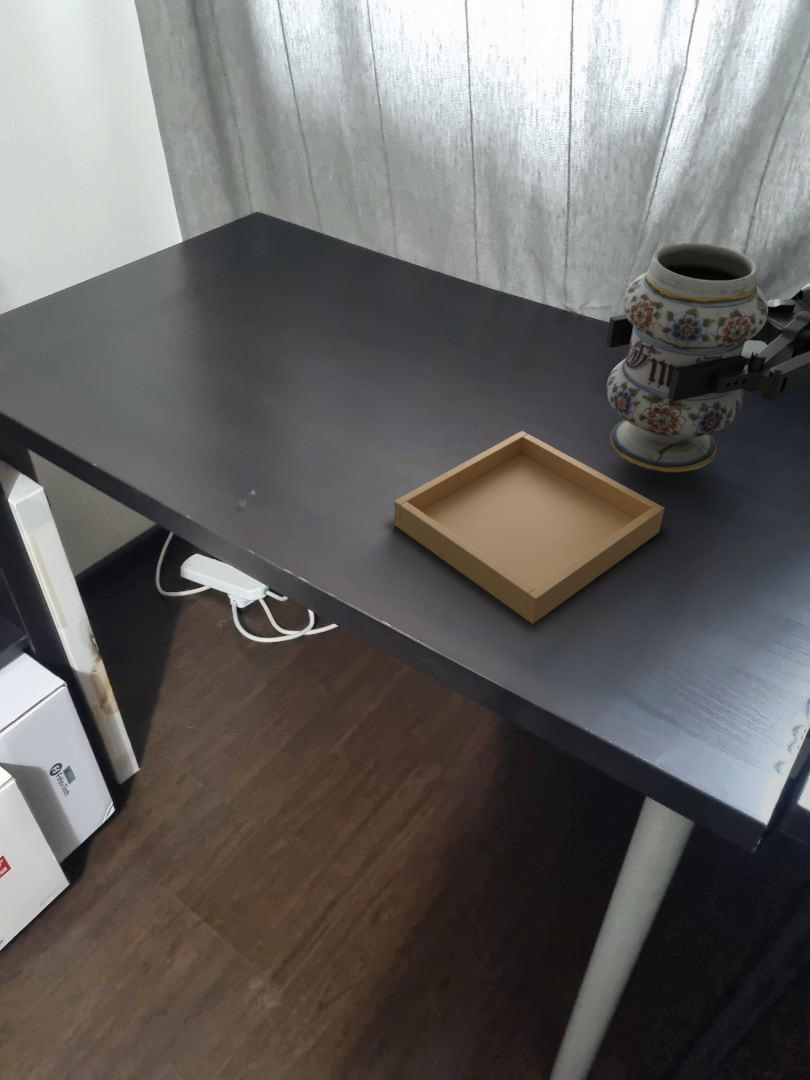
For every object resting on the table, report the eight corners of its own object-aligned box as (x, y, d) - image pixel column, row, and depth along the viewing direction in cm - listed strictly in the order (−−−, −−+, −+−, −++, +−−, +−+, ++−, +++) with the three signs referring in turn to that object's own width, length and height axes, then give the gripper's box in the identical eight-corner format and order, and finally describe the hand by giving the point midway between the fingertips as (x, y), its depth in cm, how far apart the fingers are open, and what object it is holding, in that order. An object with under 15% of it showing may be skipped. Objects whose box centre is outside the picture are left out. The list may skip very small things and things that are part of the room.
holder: (659, 532, 73) (664, 507, 71) (532, 624, 65) (535, 599, 63) (519, 454, 83) (522, 430, 81) (394, 525, 74) (393, 500, 73)
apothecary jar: (755, 463, 77) (814, 275, 65) (645, 493, 73) (686, 301, 62) (677, 401, 85) (716, 225, 74) (575, 425, 82) (600, 246, 70)
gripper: (926, 409, 72) (706, 461, 66) (761, 307, 88) (573, 342, 82) (962, 329, 67) (728, 378, 61) (781, 236, 83) (583, 268, 77)
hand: (640, 357), depth 72 cm, fingers closed on apothecary jar, 9 cm apart
